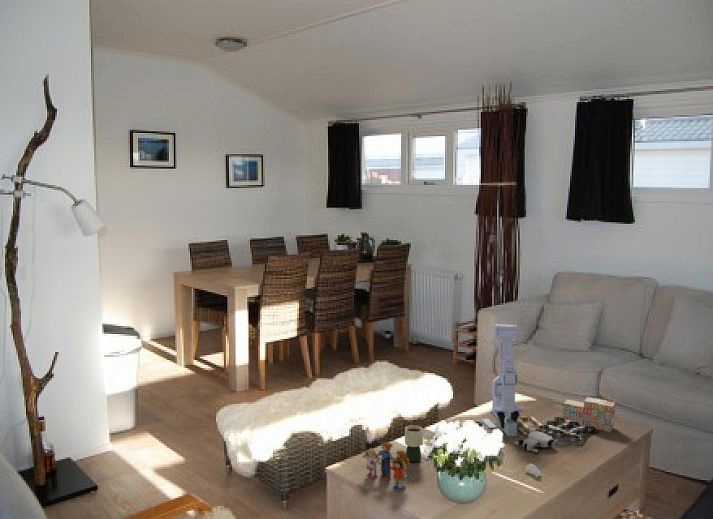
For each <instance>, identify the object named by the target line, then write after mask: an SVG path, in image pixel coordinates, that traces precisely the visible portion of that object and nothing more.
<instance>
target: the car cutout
mask: <svg viewBox="0 0 713 519" xmlns="http://www.w3.org/2000/svg"><path fill="white" fill-rule="evenodd" d="M524 473H525V474H531V475H534V476H535V478H538V477H541V470H540V469H539V468H538V467H537V465H536V464H533V463H529V464H526V465H525V470H524Z"/></svg>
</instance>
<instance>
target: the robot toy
mask: <svg viewBox="0 0 713 519" xmlns="http://www.w3.org/2000/svg"><path fill="white" fill-rule="evenodd" d="M552 437H553V436H552V435H550V436H549V435H547V434H545V433H543V432H539V431H534V430H533V431H532V432H531V433H529V434H528V436H527V438H526V439H517V440H516V441H514V444H515V445H518V446H522V448H523V450H527V451H531V452H535V453H538V452H539V450H540V448H546V447H547V448H549V447H551V446H553V445H554V444H555V443H557V441H558V440H557V439H558V438H556V439H555V440H554V437H553V438H552Z"/></svg>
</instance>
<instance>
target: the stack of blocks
mask: <svg viewBox="0 0 713 519" xmlns="http://www.w3.org/2000/svg"><path fill="white" fill-rule="evenodd" d="M615 410H616V402H615V401H608V400H605V399H600V398H594V397H588V396H586V398H585V400H584V401H583V402H581V401H577V400H571V399H566V400H565V401H564V402H563V411H562V419H563V418H565V419H568V420H572V421H576V422H580V423H581V424H582V425H591V426H594V427H595V428H596V429H595V430H598V431H603V432H607V433H612V431H613V429H614V422H615Z"/></svg>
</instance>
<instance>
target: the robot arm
mask: <svg viewBox="0 0 713 519" xmlns="http://www.w3.org/2000/svg"><path fill="white" fill-rule="evenodd" d="M517 336H518V326H517V325H516V324H498V323H495V325H494V340H495V341H496V342H498V344H499V349H498V350H499V351H498V352H499V356H498V357H499V358H498V364H499V365H498V376H497V377H494V379H493V380H492V386H491V389H492V391H491V393H492V396H493V397H492V407H491V409H490V412H491V413H492V415H494V416H495V417H496V418H497V419H498V417H499V420H500V425H501V428H502V429H504V421H505V415H507V416H508V417H509V418H511V419H512V420H513V421H514V422H516V420H517V418H518V417H520V412H522V413H524V412H525V407H524V406H523V405H521V406H520V405H515V404H516V387H517V385H518V374H517V369H516V360H515V357H513V342H515V341H516V338H518V337H517ZM501 428H500V429H501Z"/></svg>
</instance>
